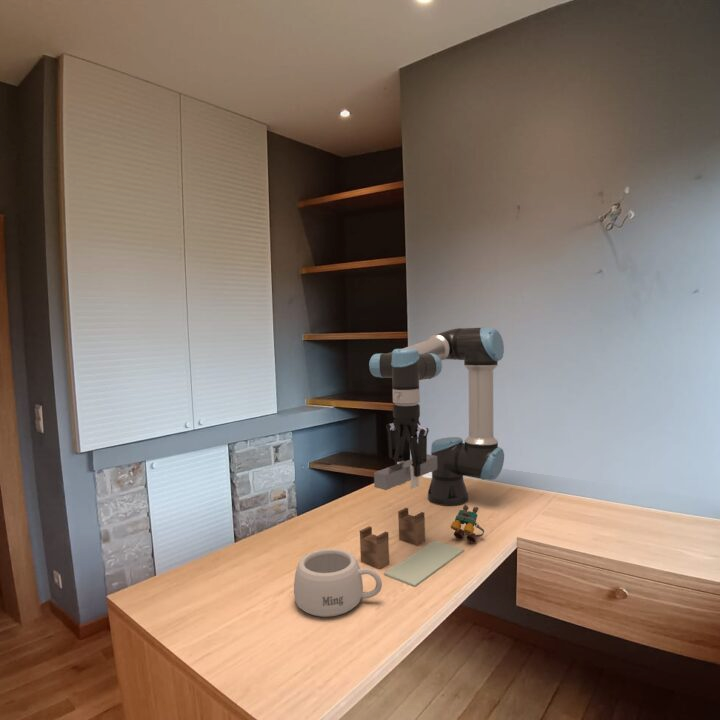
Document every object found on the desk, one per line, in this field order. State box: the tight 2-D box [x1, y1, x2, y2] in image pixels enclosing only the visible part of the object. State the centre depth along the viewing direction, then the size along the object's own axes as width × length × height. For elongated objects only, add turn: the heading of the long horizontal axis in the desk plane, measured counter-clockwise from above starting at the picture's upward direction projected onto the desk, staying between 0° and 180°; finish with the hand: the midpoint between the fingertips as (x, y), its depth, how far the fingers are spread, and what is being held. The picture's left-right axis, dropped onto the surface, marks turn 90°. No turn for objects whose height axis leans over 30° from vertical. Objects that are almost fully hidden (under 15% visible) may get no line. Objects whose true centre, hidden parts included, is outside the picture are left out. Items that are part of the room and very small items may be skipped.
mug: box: [293, 548, 383, 618], centre depth 116 cm, size 21×17×10 cm
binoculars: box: [450, 504, 485, 544], centre depth 148 cm, size 9×9×10 cm
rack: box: [359, 507, 426, 570], centre depth 141 cm, size 7×22×9 cm, turn 139°
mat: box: [383, 539, 465, 588], centre depth 134 cm, size 10×25×1 cm, turn 139°
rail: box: [373, 453, 437, 491], centre depth 136 cm, size 4×24×4 cm, turn 137°
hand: (408, 485), depth 136 cm, fingers closed on rail, 4 cm apart
